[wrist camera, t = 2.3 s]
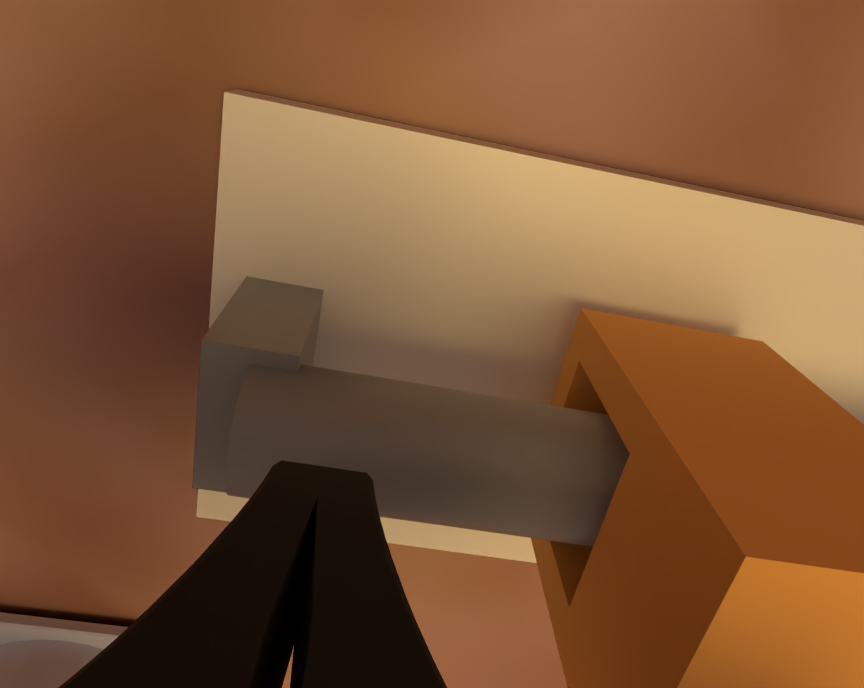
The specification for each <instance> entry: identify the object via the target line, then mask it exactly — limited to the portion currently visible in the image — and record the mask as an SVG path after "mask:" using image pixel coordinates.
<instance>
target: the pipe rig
mask: <svg viewBox="0 0 864 688" xmlns="http://www.w3.org/2000/svg"><path fill="white" fill-rule="evenodd" d="M581 308H584V309H589V310H595V311H600V312H606V313H611V314H616V315H622V316H627V317H633V318H638V319H644V320H649V321H655V322H660V323H666V324H671V325H676V326H682V327H687V328H693V329H698V330H704V331H709V332H715V333H720V334H725V335H731V336H736V337H742V338H747V339H753V340H758V341H763V342H764V343H765V344H767V345H768V346H769V347H770V348H772V349H773V350H774V351H775V352H776V353H778V354H779V355H780V356H781V357H782V358H784V359H785V360H786V361H787V362H788V363H790V364H791V365H792V366H793V367H795V368H796V369H797V370H798V371H799V372H801V373H802V374H803V375H804V376H805V377H807V378H808V379H809V380H810V381H812V382H813V383H814V384H815V385H816V386H818V387H819V388H820V389H821V390H822V391H824V392H825V393H826V394H827V395H828V396H830V397H831V398H832V399H833V400H835V401H836V402H837V403H838V404H839V405H841V406H842V407H843V408H844V409H845V410H847V411H848V412H849V413H850V414H851V415H853V416H854V417H855V418H856V419H858V420H859V421H860V422H861V423H862V424H864V221H863V220H858V219H854V218H849V217H844V216H839V215H835V214H830V213H825V212H820V211H816V210H811V209H806V208H801V207H797V206H792V205H787V204H782V203H778V202H773V201H768V200H763V199H759V198H754V197H749V196H744V195H740V194H735V193H730V192H725V191H721V190H716V189H711V188H706V187H702V186H697V185H692V184H687V183H683V182H678V181H673V180H668V179H663V178H659V177H654V176H649V175H644V174H640V173H635V172H630V171H625V170H621V169H616V168H611V167H606V166H602V165H597V164H592V163H587V162H583V161H578V160H573V159H568V158H564V157H559V156H554V155H549V154H545V153H540V152H535V151H530V150H526V149H521V148H516V147H511V146H507V145H502V144H497V143H492V142H488V141H483V140H478V139H473V138H469V137H464V136H459V135H454V134H450V133H445V132H440V131H435V130H431V129H426V128H421V127H416V126H412V125H407V124H402V123H397V122H393V121H388V120H383V119H378V118H374V117H369V116H364V115H359V114H355V113H350V112H345V111H340V110H336V109H331V108H326V107H321V106H316V105H312V104H307V103H302V102H297V101H293V100H288V99H283V98H278V97H274V96H269V95H264V94H259V93H255V92H250V91H245V90H240V89H235V90H230V91H226V92H224V101H223V116H222V132H221V147H220V162H219V178H218V193H217V208H216V224H215V239H214V254H213V270H212V285H211V300H210V316H209V330H208V331H207V332H206V334H205V335H204V337H203V338H202V339H201V352H200V369H199V385H198V402H197V418H196V435H195V451H194V468H193V485H192V488H196V489H198V500H197V515H196V517H201V518H208V519H216V520H223V521H230V522H231V521H232V520H233V519H234V518H235V516H236V515H237V514H238V513H239V511H240V510H241V509H242V508H243V506H244V505H245V504H246V503H247V502H248V500H249V499H250V498H251V496H252V495H253V494H254V492H255V491H256V490H257V488H258V487H259V486H260V484H261V483H262V481H263V480H264V478H265V477H266V476H267V474H268V472H269V471H270V469H271V467H272V466H273V465H275V464H276V463H278V462H280V461H281V460H283V461H290V462H297V463H304V464H310V465H317V466H324V467H331V468H338V469H345V470H352V471H358V472H365V473H368V475H369V476H370V477H371V478H372V480H373V483H374V492H375V498H376V503H377V508H378V512H379V516H380V520H381V524H382V527H383V531H384V534H385V538H386V541H387V543H393V544H400V545H408V546H415V547H422V548H430V549H437V550H445V551H452V552H459V553H467V554H474V555H481V556H489V557H496V558H504V559H511V560H518V561H526V562H533V563H537V562H536V558H535V554H534V550H533V545H532V541H531V538H535V539H542V540H549V541H557V542H564V543H571V544H578V545H585V546H592V547H593V546H594V544H595V541H596V538H597V536H598V533H599V531H600V528H601V526H602V523H603V521H604V518H605V516H606V513H607V511H608V508H609V506H610V503H611V500H612V498H613V495H614V493H615V490H616V488H617V485H618V483H619V480H620V478H621V475H622V473H623V470H624V467H625V465H626V462H627V460H628V457H629V455H630V453H629V451H628V449H627V448H626V446H625V444H624V442H623V440H622V438H621V437H620V435H619V433H618V431H617V429H616V427H615V426H614V424H613V422H612V420H611V418H610V416H609V415H606V414H600V413H594V412H588V411H582V410H576V409H570V408H564V407H558V406H552V405H550V403H551V400H552V397H553V394H554V390H555V387H556V384H557V381H558V378H559V375H560V372H561V369H562V366H563V362H564V359H565V356H566V353H567V350H568V347H569V344H570V341H571V337H572V334H573V331H574V328H575V325H576V322H577V319H578V316H579V313H580V309H581Z"/></svg>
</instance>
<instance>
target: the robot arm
mask: <svg viewBox="0 0 864 688" xmlns="http://www.w3.org/2000/svg"><path fill="white" fill-rule="evenodd" d="M293 646H294V652H293V662H292V672H291V683H290V688H447V686H446V685H445V683H444V680H443V678H442V676H441V674H440V672H439V670H438V668H437V666H436V664H435V662H434V660H433V658H432V656H431V654H430V652H429V649H428V647H427V645H426V643H425V640H424V638H423V636H422V634H421V631H420V629H419V627H418V624H417V622H416V620H415V618H414V615H413V613H412V610H411V608H410V605H409V603H408V600H407V598H406V595H405V593H404V590H403V587H402V585H401V582H400V579H399V576H398V574H397V571H396V568H395V565H394V562H393V560H392V557H391V554H390V551H389V548H388V544H387V541H386V538H385V534H384V531H383V527H382V524H381V520H380V516H379V512H378V508H377V503H376V498H375V492H374V483H373V480H372V478H371V477H370V476H369V475H368V473H365V472H358V471H352V470H345V469H338V468H331V467H324V466H317V465H310V464H304V463H297V462H290V461H283V460H281V461H280V462H278V463H276V464H275V465H273V466H272V467H271V469H270V471H269V472H268V474H267V476H266V477H265V478H264V480H263V481H262V483H261V484H260V486H259V487H258V488H257V490H256V491H255V492H254V494H253V495H252V496H251V498H250V499H249V500H248V502H247V503H246V504H245V505H244V506H243V508H242V509H241V510H240V511H239V513H238V514H237V515H236V516H235V518H234V519H233V520H232V521H231V522H230V523H229V525H228V526H227V527H226V528H225V529H224V530H223V531H222V532H221V534H220V535H219V536H218V537H217V538H216V539H215V540H214V541H213V543H212V544H211V545H210V546H209V547H208V548H207V549H206V550H205V552H204V553H203V554H202V555H201V556H200V557H199V558H198V559H197V560H196V561H195V562H194V564H193V565H192V566H191V567H190V568H189V569H188V570H187V571H186V572H185V573H184V574H183V575H182V576H181V577H180V578H179V579H178V580H177V581H176V582H175V583H174V584H173V585H172V586H171V587H170V588H169V589H168V590H167V591H166V592H165V593H164V594H163V595H162V596H161V597H160V598H159V599H158V600H157V601H156V602H155V603H154V604H153V605H152V606H151V607H150V608H149V609H148V610H146V611H145V612H144V613H143V614H142V615H141V616H140V617H139V618H138V619H137V620H136V621H135V622H134V623H133V624H131V625H130V626H129V627H124V626H115V625H107V624H98V623H89V622H81V621H72V620H63V619H55V618H46V617H37V616H28V615H20V614H11V613H2V612H0V688H282V685H283V682H284V678H285V675H286V671H287V668H288V664H289V661H290V657H291V654H292V650H293Z"/></svg>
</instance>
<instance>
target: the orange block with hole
mask: <svg viewBox="0 0 864 688" xmlns="http://www.w3.org/2000/svg"><path fill="white" fill-rule="evenodd" d="M550 405H552V406H558V407H564V408H570V409H576V410H582V411H588V412H594V413H600V414H606V415H609V416H610V418H611V420H612V422H613V424H614V426H615V427H616V429H617V431H618V433H619V435H620V437H621V438H622V440H623V442H624V444H625V446H626V448H627V449H628V451H629V453H630V455H629V457H628V460H627V462H626V465H625V467H624V470H623V473H622V475H621V478H620V480H619V483H618V485H617V488H616V490H615V493H614V495H613V498H612V500H611V503H610V506H609V508H608V511H607V513H606V516H605V518H604V521H603V523H602V526H601V528H600V531H599V533H598V536H597V538H596V541H595V544H594V546H593V547H592V546H585V545H578V544H571V543H564V542H557V541H549V540H542V539H535V538H531V541H532V545H533V550H534V554H535V558H536V562H537V566H538V570H539V574H540V578H541V582H542V586H543V590H544V594H545V598H546V602H547V606H548V610H549V614H550V618H551V622H552V626H553V630H554V634H555V638H556V642H557V646H558V650H559V654H560V658H561V662H562V666H563V670H564V674H565V678H566V683H567V687H568V688H864V424H862V423H861V422H860V421H859V420H858V419H856V418H855V417H854V416H853V415H851V414H850V413H849V412H848V411H847V410H845V409H844V408H843V407H842V406H841V405H839V404H838V403H837V402H836V401H835V400H833V399H832V398H831V397H830V396H828V395H827V394H826V393H825V392H824V391H822V390H821V389H820V388H819V387H818V386H816V385H815V384H814V383H813V382H812V381H810V380H809V379H808V378H807V377H805V376H804V375H803V374H802V373H801V372H799V371H798V370H797V369H796V368H795V367H793V366H792V365H791V364H790V363H788V362H787V361H786V360H785V359H784V358H782V357H781V356H780V355H779V354H778V353H776V352H775V351H774V350H773V349H772V348H770V347H769V346H768V345H767V344H765V343H764V342H763V341H758V340H753V339H747V338H742V337H736V336H731V335H725V334H720V333H715V332H709V331H704V330H698V329H693V328H687V327H682V326H676V325H671V324H666V323H660V322H655V321H649V320H644V319H638V318H633V317H627V316H622V315H616V314H611V313H606V312H600V311H595V310H589V309H584V308H581V309H580V313H579V316H578V319H577V322H576V325H575V328H574V331H573V334H572V337H571V341H570V344H569V347H568V350H567V353H566V356H565V359H564V362H563V366H562V369H561V372H560V375H559V378H558V381H557V384H556V387H555V390H554V394H553V397H552V400H551V403H550Z"/></svg>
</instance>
